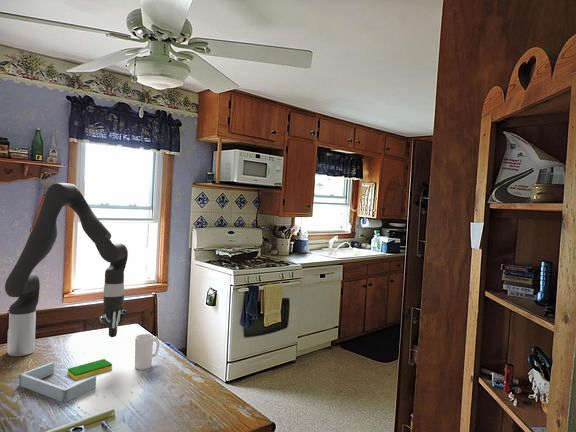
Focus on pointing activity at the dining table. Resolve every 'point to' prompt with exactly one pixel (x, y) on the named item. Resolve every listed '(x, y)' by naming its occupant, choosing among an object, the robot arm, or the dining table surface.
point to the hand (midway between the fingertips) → (112, 336)
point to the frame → (56, 392)
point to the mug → (145, 350)
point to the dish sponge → (89, 369)
